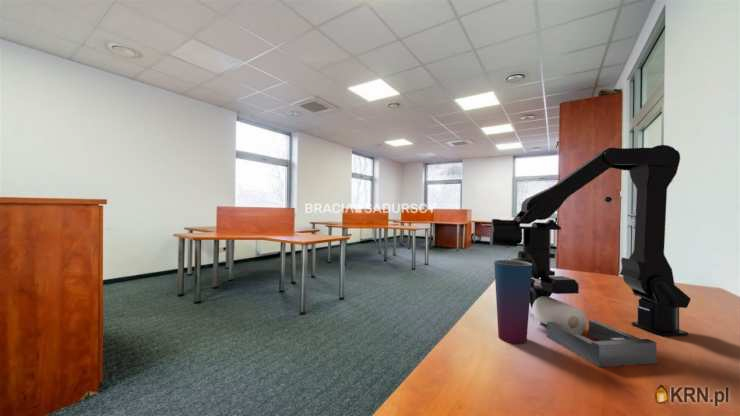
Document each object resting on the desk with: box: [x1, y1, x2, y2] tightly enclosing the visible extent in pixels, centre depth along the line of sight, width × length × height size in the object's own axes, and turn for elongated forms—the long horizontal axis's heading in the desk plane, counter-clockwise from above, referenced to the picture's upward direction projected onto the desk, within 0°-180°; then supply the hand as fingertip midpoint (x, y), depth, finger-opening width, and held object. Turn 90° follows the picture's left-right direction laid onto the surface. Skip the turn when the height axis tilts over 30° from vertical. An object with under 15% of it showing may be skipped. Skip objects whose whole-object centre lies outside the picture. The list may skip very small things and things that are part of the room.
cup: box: [493, 259, 532, 345], centre depth 57 cm, size 7×7×15 cm
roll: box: [531, 296, 587, 335], centre depth 62 cm, size 8×6×6 cm
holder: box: [546, 319, 658, 368], centre depth 53 cm, size 11×11×4 cm
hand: (536, 313), depth 69 cm, fingers closed
